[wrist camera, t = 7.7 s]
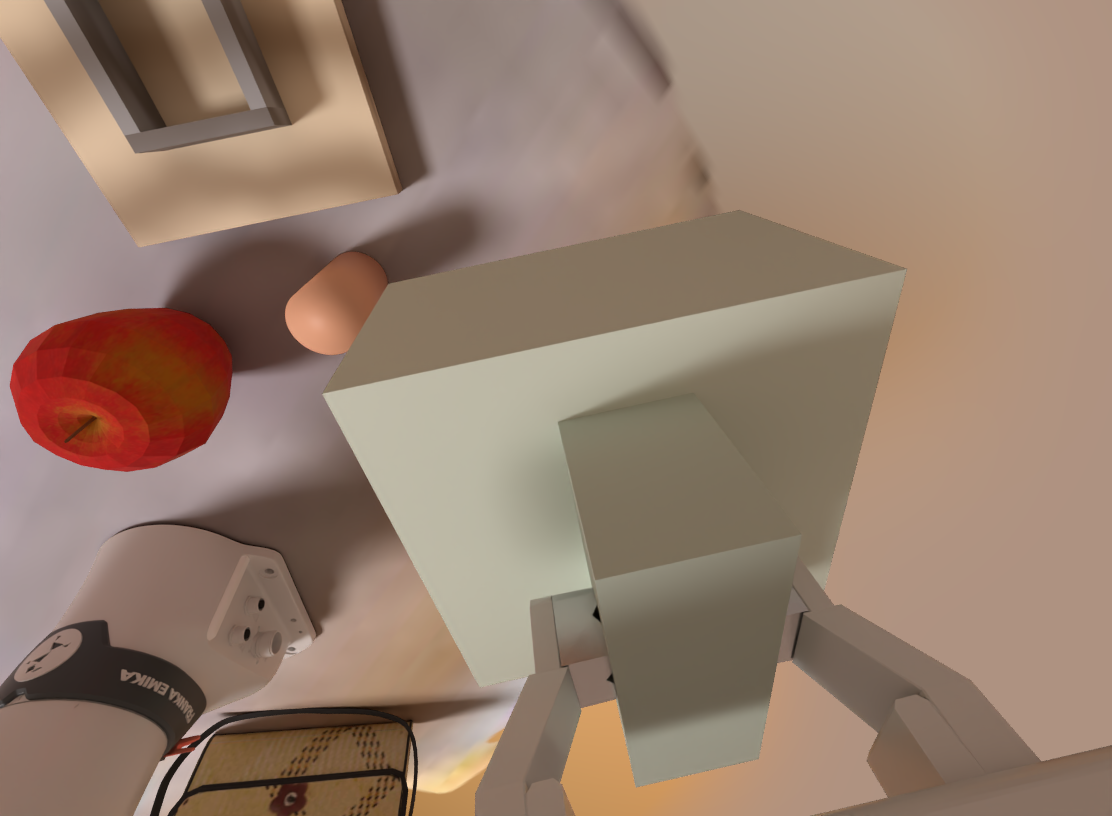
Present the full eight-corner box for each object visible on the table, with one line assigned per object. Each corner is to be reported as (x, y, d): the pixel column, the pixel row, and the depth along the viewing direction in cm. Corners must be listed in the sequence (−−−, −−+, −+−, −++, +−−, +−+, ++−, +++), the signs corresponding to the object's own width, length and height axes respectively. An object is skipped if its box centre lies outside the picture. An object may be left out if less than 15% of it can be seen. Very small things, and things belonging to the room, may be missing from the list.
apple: (283, 390, 36) (203, 495, 26) (163, 406, 35) (34, 519, 25) (227, 273, 31) (102, 346, 21) (87, 288, 30) (-113, 372, 20)
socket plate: (402, 190, 29) (390, 200, 26) (158, 240, 29) (110, 257, 25) (280, -189, 21) (234, -258, 17) (-70, -122, 20) (-195, -177, 17)
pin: (396, 301, 33) (373, 347, 27) (342, 312, 33) (305, 361, 26) (375, 246, 31) (344, 280, 24) (317, 258, 31) (270, 295, 24)
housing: (726, 474, 21) (912, 749, 12) (481, 528, 21) (478, 850, 12) (739, 210, 15) (1164, 359, 6) (388, 283, 15) (219, 565, 5)
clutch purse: (425, 699, 63) (410, 844, 50) (425, 724, 66) (411, 864, 54) (182, 715, 57) (97, 881, 45) (197, 740, 61) (122, 901, 48)
